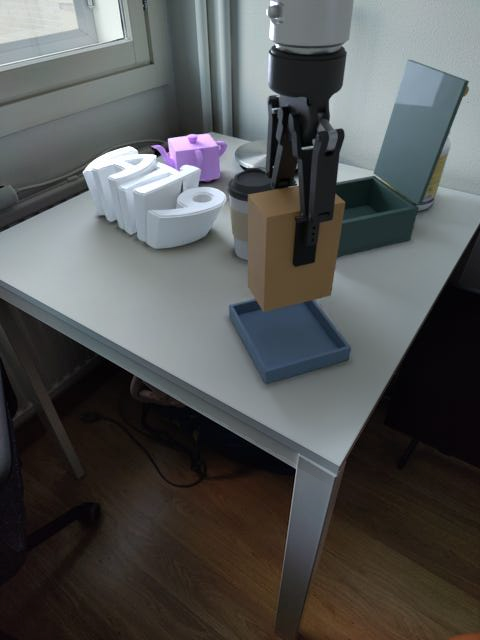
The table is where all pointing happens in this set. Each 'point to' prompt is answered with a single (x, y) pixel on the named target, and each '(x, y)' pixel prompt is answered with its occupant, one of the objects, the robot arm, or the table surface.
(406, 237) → the box
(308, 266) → the packet
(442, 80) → the lid
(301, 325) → the tray
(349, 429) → the table surface
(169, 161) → the teapot
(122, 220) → the white letter sculpture
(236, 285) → the table surface
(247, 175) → the coffee cup
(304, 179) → the robot arm
